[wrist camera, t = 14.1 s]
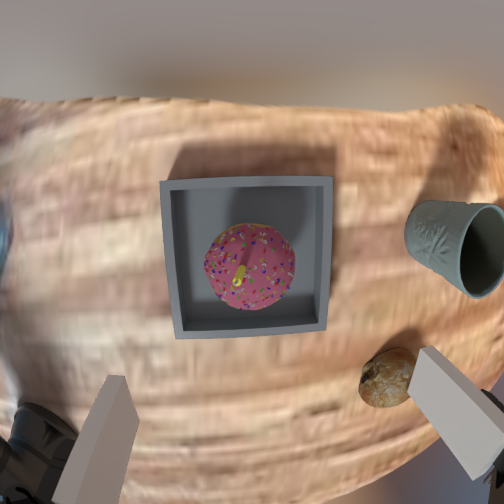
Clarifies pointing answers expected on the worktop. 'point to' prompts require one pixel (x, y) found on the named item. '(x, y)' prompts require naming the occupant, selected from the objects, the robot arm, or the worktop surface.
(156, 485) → the worktop surface
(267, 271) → the cupcake
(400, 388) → the bread roll
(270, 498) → the worktop surface
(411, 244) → the grey cup
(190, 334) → the serving tray
